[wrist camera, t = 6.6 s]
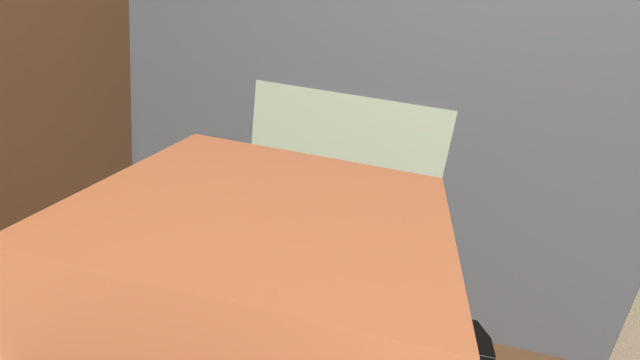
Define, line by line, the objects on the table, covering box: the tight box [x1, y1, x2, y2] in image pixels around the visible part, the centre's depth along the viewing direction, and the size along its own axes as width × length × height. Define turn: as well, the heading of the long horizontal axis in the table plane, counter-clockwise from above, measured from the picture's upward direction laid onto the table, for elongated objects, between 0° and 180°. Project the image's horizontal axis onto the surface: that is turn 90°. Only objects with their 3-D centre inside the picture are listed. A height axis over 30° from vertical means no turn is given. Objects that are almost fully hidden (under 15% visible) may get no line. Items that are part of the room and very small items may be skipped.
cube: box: [0, 134, 480, 360], centre depth 9 cm, size 6×6×6 cm
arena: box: [0, 0, 640, 360], centre depth 14 cm, size 22×17×8 cm
